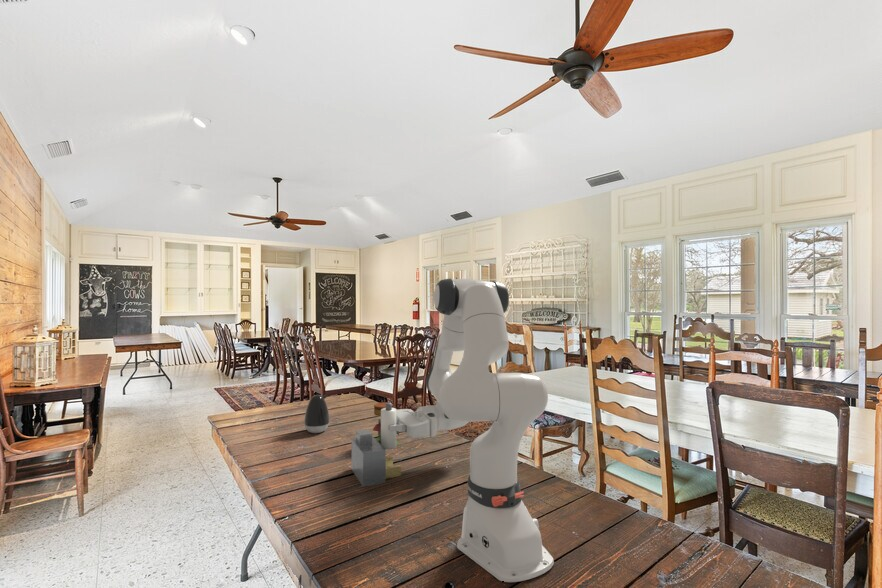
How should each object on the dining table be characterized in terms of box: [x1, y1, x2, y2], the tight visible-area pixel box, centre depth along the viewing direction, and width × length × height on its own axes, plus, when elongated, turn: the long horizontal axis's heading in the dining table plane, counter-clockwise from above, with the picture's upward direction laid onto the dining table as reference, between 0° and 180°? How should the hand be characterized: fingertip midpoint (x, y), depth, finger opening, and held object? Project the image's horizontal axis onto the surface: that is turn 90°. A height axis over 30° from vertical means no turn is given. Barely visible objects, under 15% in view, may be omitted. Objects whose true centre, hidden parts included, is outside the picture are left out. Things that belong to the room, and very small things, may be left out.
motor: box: [351, 428, 402, 488], centre depth 136 cm, size 16×13×13 cm
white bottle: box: [380, 402, 397, 450], centre depth 137 cm, size 5×5×14 cm
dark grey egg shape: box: [303, 394, 331, 434], centre depth 176 cm, size 10×10×15 cm
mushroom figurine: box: [372, 401, 400, 446], centre depth 162 cm, size 12×13×15 cm
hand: (385, 425), depth 136 cm, fingers closed on white bottle, 5 cm apart
